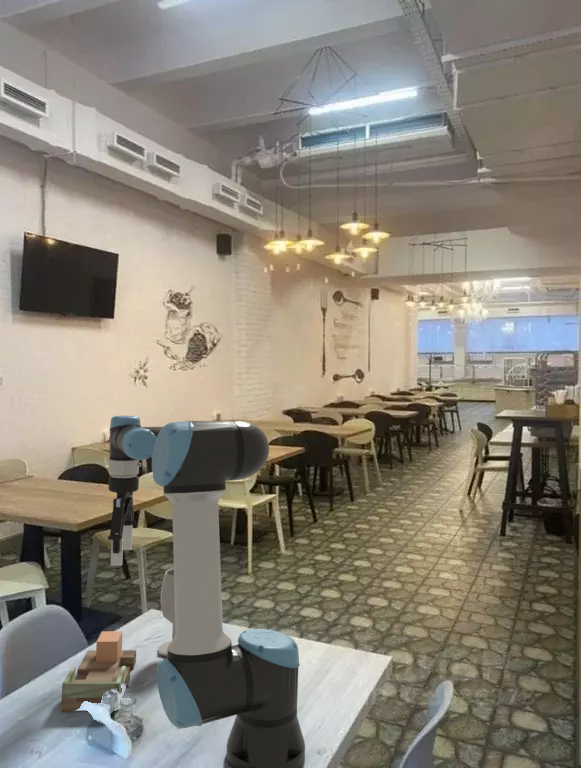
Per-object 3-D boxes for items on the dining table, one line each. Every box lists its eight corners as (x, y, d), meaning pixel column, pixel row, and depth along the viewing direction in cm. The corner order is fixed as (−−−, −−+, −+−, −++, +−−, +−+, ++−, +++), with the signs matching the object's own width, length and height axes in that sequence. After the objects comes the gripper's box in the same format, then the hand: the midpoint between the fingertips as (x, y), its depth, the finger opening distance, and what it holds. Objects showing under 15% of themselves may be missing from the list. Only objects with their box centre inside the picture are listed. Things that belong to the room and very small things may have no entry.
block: (117, 662, 150) (117, 641, 150) (96, 662, 150) (96, 641, 150) (121, 651, 156) (122, 631, 156) (101, 651, 156) (101, 631, 156)
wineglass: (194, 645, 168) (196, 567, 168) (186, 659, 159) (188, 578, 159) (163, 642, 169) (165, 565, 168) (153, 657, 160) (155, 576, 160)
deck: (118, 710, 134) (119, 683, 134) (61, 711, 133) (62, 684, 133) (135, 661, 157) (136, 638, 157) (87, 662, 156) (87, 638, 156)
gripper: (130, 484, 149) (127, 572, 149) (146, 468, 174) (143, 543, 174) (98, 483, 148) (95, 572, 149) (118, 467, 173) (116, 543, 173)
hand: (121, 557), depth 161 cm, fingers open, 13 cm apart
